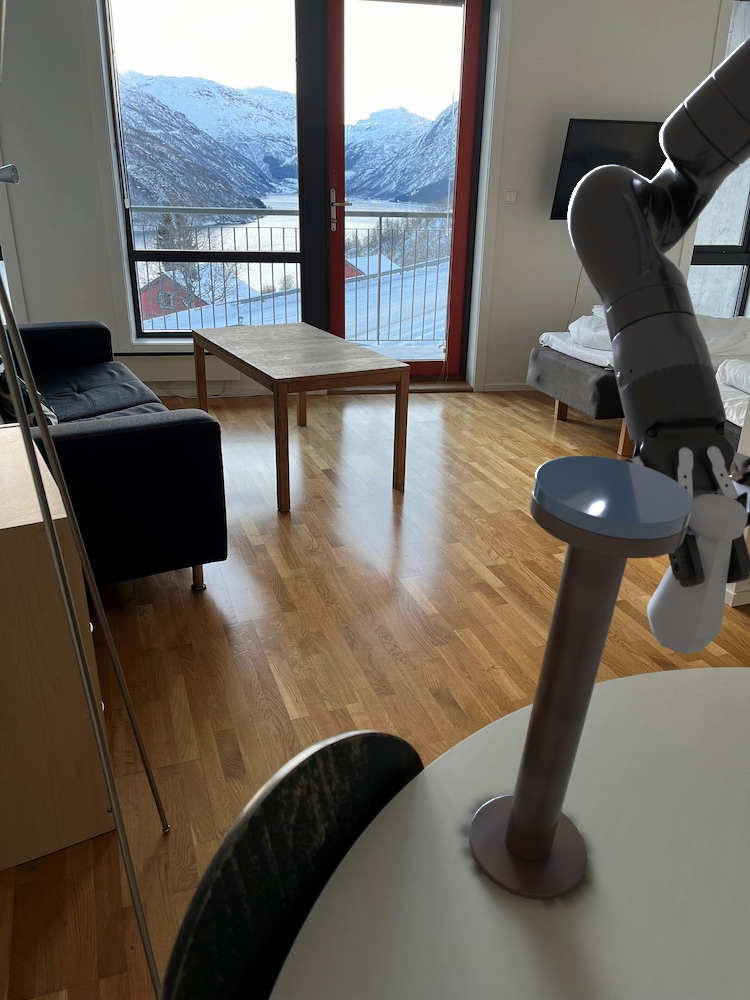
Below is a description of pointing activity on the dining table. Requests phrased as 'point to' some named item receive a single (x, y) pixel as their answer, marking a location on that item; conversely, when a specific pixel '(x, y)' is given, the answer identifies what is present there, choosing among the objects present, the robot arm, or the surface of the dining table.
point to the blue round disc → (613, 497)
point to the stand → (558, 719)
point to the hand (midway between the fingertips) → (715, 582)
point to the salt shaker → (699, 609)
